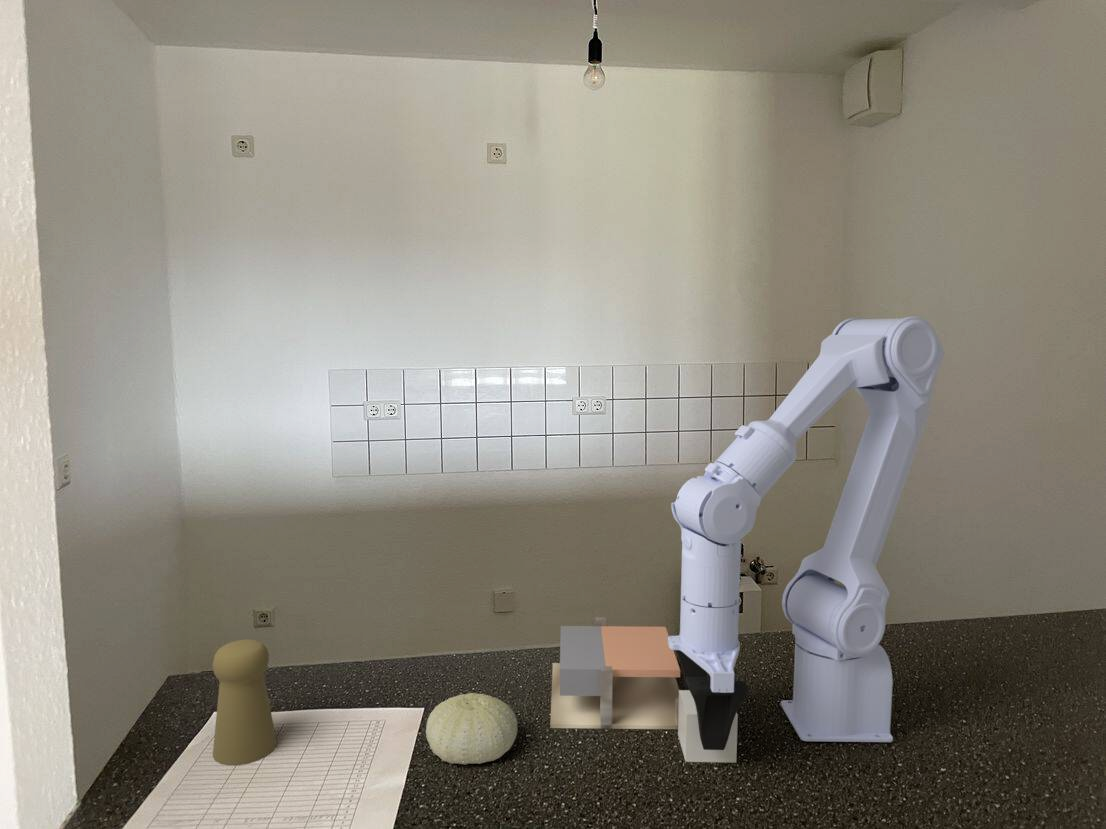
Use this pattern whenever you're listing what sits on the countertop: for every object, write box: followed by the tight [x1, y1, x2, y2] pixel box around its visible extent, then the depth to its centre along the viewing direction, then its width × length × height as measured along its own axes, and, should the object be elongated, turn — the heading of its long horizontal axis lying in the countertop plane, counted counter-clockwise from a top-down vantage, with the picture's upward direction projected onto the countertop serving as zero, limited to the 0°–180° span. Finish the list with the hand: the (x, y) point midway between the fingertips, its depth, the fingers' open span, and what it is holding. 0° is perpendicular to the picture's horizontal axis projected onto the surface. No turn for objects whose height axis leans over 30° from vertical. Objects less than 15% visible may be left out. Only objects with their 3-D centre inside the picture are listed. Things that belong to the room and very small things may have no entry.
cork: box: [212, 639, 277, 766], centre depth 75 cm, size 6×6×11 cm
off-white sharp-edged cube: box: [677, 689, 739, 763], centre depth 76 cm, size 5×5×5 cm
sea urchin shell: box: [425, 692, 519, 765], centre depth 76 cm, size 9×8×8 cm
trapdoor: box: [559, 625, 681, 696], centre depth 87 cm, size 13×12×3 cm
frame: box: [549, 616, 680, 730], centre depth 87 cm, size 15×15×6 cm
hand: (706, 727), depth 76 cm, fingers open, 7 cm apart
